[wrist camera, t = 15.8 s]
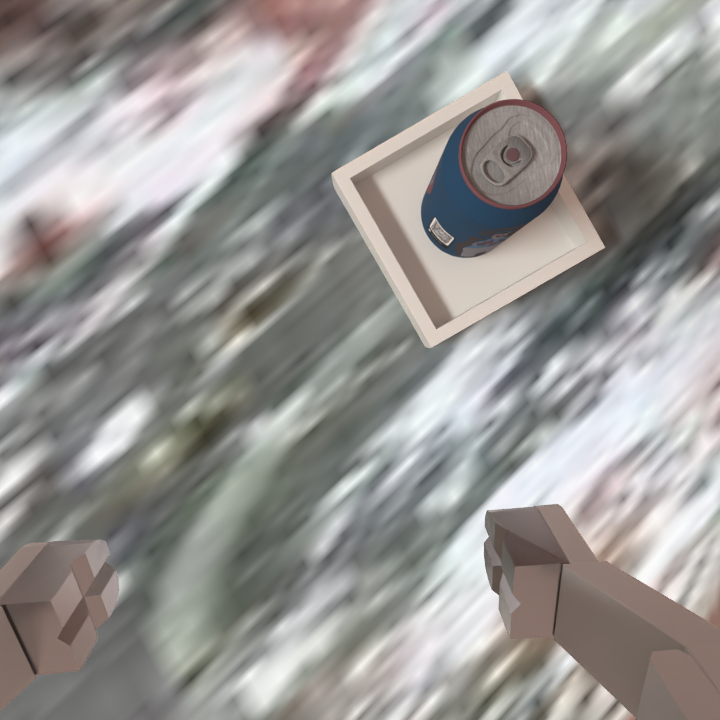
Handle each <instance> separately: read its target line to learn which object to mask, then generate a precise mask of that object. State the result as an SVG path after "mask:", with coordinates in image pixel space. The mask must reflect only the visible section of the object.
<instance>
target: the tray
mask: <svg viewBox="0 0 720 720" xmlns="http://www.w3.org/2000/svg"><path fill="white" fill-rule="evenodd" d="M506 99H521V100H523V99H522V97H521V95H520V94H519V92H518V90H517V88H516V86H515V85H514V83H513V81H512V79H511V77H510V76H509V74H508V72H507V71H506V72H504V73H502V74H500V75H499V76H497V77H495V78H494V79H492V80H490V81H488V82H487V83H485V84H483V85H482V86H480V87H478V88H476V89H475V90H473V91H471V92H470V93H468V94H466V95H464V96H463V97H461V98H459V99H458V100H456V101H454V102H452V103H451V104H449V105H447V106H446V107H444V108H442V109H440V110H439V111H437V112H435V113H434V114H432V115H430V116H428V117H427V118H425V119H423V120H422V121H420V122H418V123H416V124H415V125H413V126H411V127H410V128H408V129H406V130H404V131H403V132H401V133H399V134H398V135H396V136H394V137H392V138H391V139H389V140H387V141H386V142H384V143H382V144H380V145H379V146H377V147H375V148H374V149H372V150H370V151H368V152H367V153H365V154H363V155H362V156H360V157H358V158H356V159H355V160H353V161H351V162H350V163H348V164H346V165H344V166H343V167H341V168H339V169H338V170H336V171H334V172H332V180H333V186H334V189H335V190H336V192H337V194H338V196H339V197H340V199H341V201H342V202H343V204H344V206H345V208H346V209H347V211H348V213H349V215H350V216H351V218H352V220H353V222H354V223H355V225H356V227H357V229H358V230H359V232H360V234H361V236H362V237H363V239H364V241H365V243H366V244H367V246H368V248H369V250H370V251H371V253H372V255H373V257H374V258H375V260H376V262H377V264H378V265H379V267H380V269H381V271H382V272H383V274H384V276H385V278H386V279H387V281H388V283H389V285H390V286H391V288H392V290H393V292H394V293H395V295H396V297H397V299H398V300H399V302H400V304H401V306H402V307H403V309H404V311H405V313H406V314H407V316H408V318H409V320H410V321H411V323H412V325H413V327H414V328H415V330H416V332H417V333H418V335H419V337H420V339H421V340H422V342H423V344H424V346H425V347H426V348H432V347H433V346H435V345H437V344H439V343H440V342H442V341H444V340H446V339H447V338H449V337H451V336H453V335H454V334H456V333H458V332H459V331H461V330H463V329H465V328H466V327H468V326H470V325H472V324H473V323H475V322H477V321H479V320H480V319H482V318H484V317H485V316H487V315H489V314H491V313H492V312H494V311H496V310H498V309H499V308H501V307H503V306H505V305H506V304H508V303H510V302H512V301H513V300H515V299H517V298H518V297H520V296H522V295H524V294H525V293H527V292H529V291H531V290H532V289H534V288H536V287H538V286H539V285H541V284H543V283H544V282H546V281H548V280H550V279H551V278H553V277H555V276H557V275H558V274H560V273H562V272H564V271H565V270H567V269H569V268H571V267H572V266H574V265H576V264H577V263H579V262H581V261H583V260H584V259H586V258H588V257H590V256H591V255H593V254H595V253H597V252H598V251H600V250H602V249H604V248H605V246H604V245H603V243H602V241H601V239H600V237H599V236H598V234H597V232H596V230H595V228H594V227H593V225H592V223H591V221H590V219H589V218H588V216H587V214H586V212H585V210H584V209H583V207H582V205H581V203H580V201H579V200H578V198H577V196H576V194H575V192H574V191H573V189H572V187H571V185H570V183H569V182H568V180H567V178H566V176H565V174H564V173H563V178H562V182H561V186H560V188H559V191H558V193H557V195H556V197H555V198H554V200H553V201H552V203H551V204H550V205H549V207H548V208H547V209H546V210H545V211H544V212H543V213H541V214H540V215H539V216H538V217H536V218H535V219H534V220H532V221H531V222H529V223H528V224H527V225H525V226H524V227H523V228H521V229H520V230H519V231H517V232H516V233H514V234H513V235H512V236H510V237H509V238H508V239H506V240H505V241H503V242H502V243H501V244H499V245H498V246H497V247H495V248H494V249H493V250H491V251H489V252H488V253H486V254H483V255H481V256H477V257H472V258H460V257H455V256H451V255H449V254H447V253H445V252H443V251H441V250H440V249H439V248H437V247H436V246H435V245H434V244H433V243H432V242H431V241H430V239H429V238H428V236H427V234H426V232H425V230H424V228H423V224H422V220H421V205H422V200H423V197H424V194H425V192H426V190H427V187H428V185H429V183H430V181H431V178H432V176H433V174H434V171H435V169H436V167H437V165H438V162H439V160H440V158H441V156H442V153H443V151H444V149H445V146H446V144H447V142H448V140H449V138H450V136H451V134H452V133H453V131H454V130H455V128H456V127H457V126H458V125H459V124H460V123H461V122H462V121H463V120H464V119H465V118H466V117H468V116H469V115H470V114H472V113H474V112H475V111H477V110H479V109H482V108H484V107H486V106H488V105H490V104H492V103H494V102H497V101H501V100H506Z"/></svg>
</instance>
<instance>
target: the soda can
mask: <svg viewBox="0 0 720 720" xmlns="http://www.w3.org/2000/svg"><path fill="white" fill-rule="evenodd" d="M566 160H567V146H566V140H565V137H564V134H563V131H562V129H561V127H560V125H559V124H558V122H557V121H556V119H555V118H554V117H553V116H552V115H551V114H550V113H549V112H548V111H547V110H545V109H544V108H542V107H541V106H539V105H537V104H535V103H533V102H530V101H526V100H521V99H506V100H501V101H497V102H494V103H492V104H490V105H488V106H486V107H484V108H482V109H479V110H477V111H475V112H474V113H472V114H470V115H469V116H468V117H466V118H465V119H464V120H463V121H462V122H461V123H460V124H459V125H458V126H457V127H456V128H455V130H454V131H453V133H452V134H451V136H450V138H449V140H448V142H447V144H446V146H445V149H444V151H443V153H442V156H441V158H440V160H439V162H438V165H437V167H436V169H435V171H434V174H433V176H432V178H431V181H430V183H429V185H428V187H427V190H426V192H425V194H424V197H423V200H422V205H421V220H422V224H423V228H424V230H425V232H426V234H427V236H428V238H429V239H430V241H431V242H432V243H433V244H434V245H435V246H436V247H437V248H439V249H440V250H441V251H443V252H445V253H447V254H449V255H451V256H455V257H460V258H472V257H477V256H481V255H483V254H486V253H488V252H489V251H491V250H493V249H494V248H495V247H497V246H498V245H499V244H501V243H502V242H503V241H505V240H506V239H508V238H509V237H510V236H512V235H513V234H514V233H516V232H517V231H519V230H520V229H521V228H523V227H524V226H525V225H527V224H528V223H529V222H531V221H532V220H534V219H535V218H536V217H538V216H539V215H540V214H541V213H543V212H544V211H545V210H546V209H547V208H548V207H549V205H550V204H551V203H552V201H553V200H554V198H555V197H556V195H557V193H558V191H559V188H560V186H561V182H562V178H563V172H564V169H565V166H566Z"/></svg>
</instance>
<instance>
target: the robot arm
mask: <svg viewBox="0 0 720 720" xmlns="http://www.w3.org/2000/svg"><path fill="white" fill-rule="evenodd" d="M485 528H486V530H487V533H488V535H489V537H488V539H487V540H486V541H485V542H484V559H485V567H486V572H487V576H488V580H489V583H490V586H491V588H492V590H493V591H494V592H495V593H497V594H498V595H499V611H500V614H501V616H502V619H503V622H504V625H505V627H506V630H507V633H508V635H509V638H510V639H517V638H539V637H554V640H555V641H556V642H557V643H558V644H559V645H560V646H561V647H562V648H564V649H565V650H566V651H567V652H568V653H569V654H570V655H571V656H572V657H573V658H574V659H575V660H576V661H577V662H578V663H579V664H580V665H581V666H582V667H583V668H584V669H586V670H587V671H588V672H589V673H590V674H591V675H592V676H593V677H594V678H595V679H596V680H597V681H598V682H599V683H600V684H601V685H602V686H603V687H604V688H605V689H606V690H607V691H609V692H610V693H611V694H612V695H613V696H614V697H615V698H616V699H617V700H618V701H619V702H620V703H621V704H622V705H623V706H624V707H625V708H626V709H627V710H628V711H629V712H630V713H632V714H633V715H634V716H635V717H636V720H720V628H718V627H716V626H715V625H713V624H711V623H710V622H708V621H706V620H705V619H703V618H701V617H700V616H698V615H696V614H695V613H693V612H691V611H689V610H688V609H686V608H684V607H683V606H681V605H679V604H678V603H676V602H674V601H673V600H671V599H669V598H668V597H666V596H664V595H663V594H661V593H659V592H657V591H656V590H654V589H652V588H651V587H649V586H647V585H646V584H644V583H642V582H641V581H639V580H637V579H636V578H634V577H632V576H630V575H629V574H627V573H625V572H624V571H622V570H620V569H619V568H617V567H615V566H614V565H612V564H610V563H609V562H607V561H601V562H599V561H598V560H597V558H596V557H595V555H594V554H593V552H592V551H591V549H590V548H589V546H588V545H587V543H586V542H585V540H584V539H583V537H582V536H581V534H580V533H579V532H578V530H577V529H576V527H575V526H574V524H573V523H572V521H571V520H570V518H569V517H568V515H567V514H566V512H565V511H564V509H563V508H562V507H561V506H560V505H558V504H553V505H542V506H534V507H525V508H513V509H500V510H488V511H487V512H486V516H485ZM109 554H110V552H109V550H108V547H107V545H106V542H105V541H102V540H99V539H93V540H73V541H53V542H42V543H29V544H27V545H25V546H23V547H21V548H20V549H19V550H18V551H17V552H16V554H15V555H14V556H13V557H12V558H11V559H10V560H9V561H8V562H7V564H6V565H5V566H4V567H3V568H2V569H1V570H0V711H1V710H2V709H3V708H4V707H5V706H6V705H7V704H8V703H9V702H11V701H12V700H13V699H14V698H15V697H16V696H17V695H18V694H19V693H20V692H21V691H22V690H23V689H24V688H26V687H27V686H28V685H29V684H30V683H31V682H32V681H33V680H34V679H35V678H36V677H35V675H44V674H53V673H63V672H72V671H80V670H81V669H82V667H83V665H84V663H85V661H86V659H87V658H88V656H89V654H90V652H91V650H92V649H93V647H94V645H95V643H96V641H97V639H98V636H97V631H96V628H98V627H99V626H100V625H101V624H102V623H104V622H105V621H106V620H107V619H109V617H110V615H111V613H112V612H113V610H114V608H115V606H116V602H117V598H118V593H119V579H118V576H117V573H116V570H115V569H114V568H113V567H111V566H110V565H109V564H107V563H106V560H107V558H108V556H109Z"/></svg>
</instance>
